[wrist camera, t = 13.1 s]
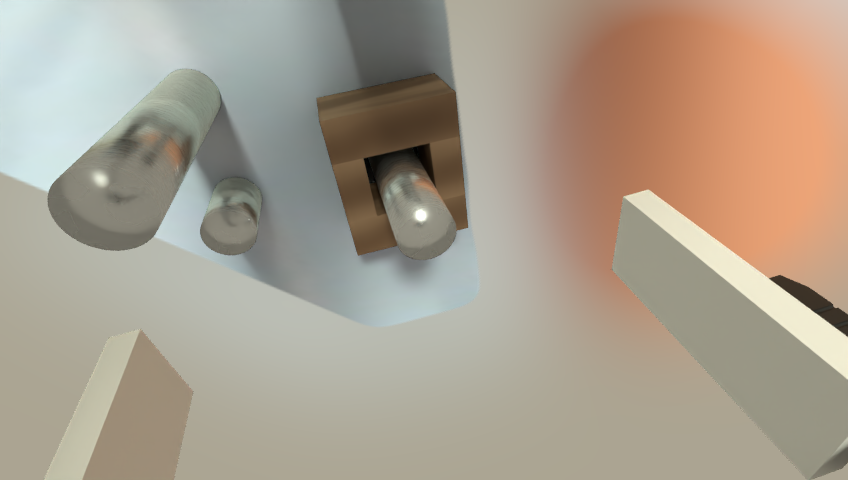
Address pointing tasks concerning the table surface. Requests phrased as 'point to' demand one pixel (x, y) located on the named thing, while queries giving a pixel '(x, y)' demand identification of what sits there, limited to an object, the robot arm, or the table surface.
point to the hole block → (392, 148)
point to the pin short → (232, 216)
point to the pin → (413, 205)
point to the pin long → (136, 165)
